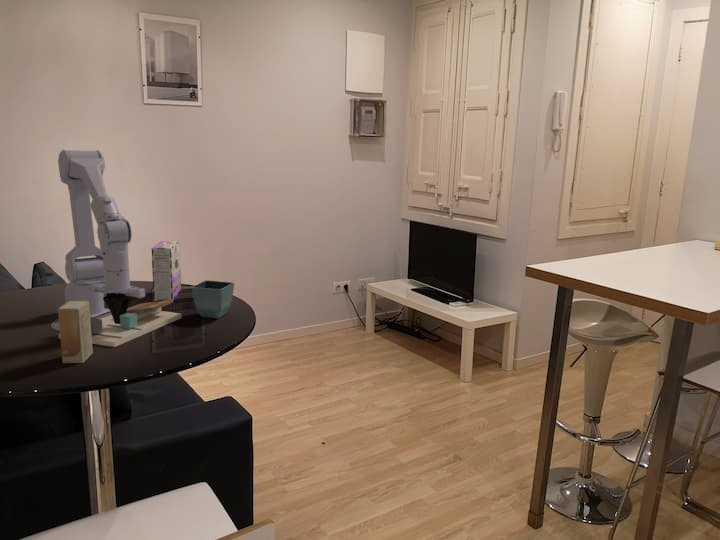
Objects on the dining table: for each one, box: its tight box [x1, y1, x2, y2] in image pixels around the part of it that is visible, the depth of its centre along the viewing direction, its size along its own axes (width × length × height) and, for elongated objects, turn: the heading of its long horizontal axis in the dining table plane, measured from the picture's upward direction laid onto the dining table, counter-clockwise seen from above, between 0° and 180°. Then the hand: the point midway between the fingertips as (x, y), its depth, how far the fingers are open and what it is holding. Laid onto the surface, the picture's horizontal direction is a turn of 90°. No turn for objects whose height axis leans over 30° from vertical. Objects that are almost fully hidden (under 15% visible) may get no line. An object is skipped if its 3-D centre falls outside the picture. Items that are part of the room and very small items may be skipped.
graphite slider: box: [90, 317, 103, 335], centre depth 138 cm, size 3×3×3 cm
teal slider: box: [120, 313, 137, 329], centre depth 143 cm, size 3×3×3 cm
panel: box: [58, 307, 182, 348], centre depth 148 cm, size 16×26×3 cm, turn 162°
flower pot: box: [191, 280, 235, 319], centre depth 159 cm, size 9×9×9 cm
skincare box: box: [57, 301, 94, 364], centre depth 124 cm, size 6×4×12 cm
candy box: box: [151, 240, 182, 302], centre depth 179 cm, size 14×6×16 cm, turn 6°
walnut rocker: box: [126, 300, 174, 313], centre depth 153 cm, size 11×9×1 cm
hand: (119, 322), depth 144 cm, fingers closed
